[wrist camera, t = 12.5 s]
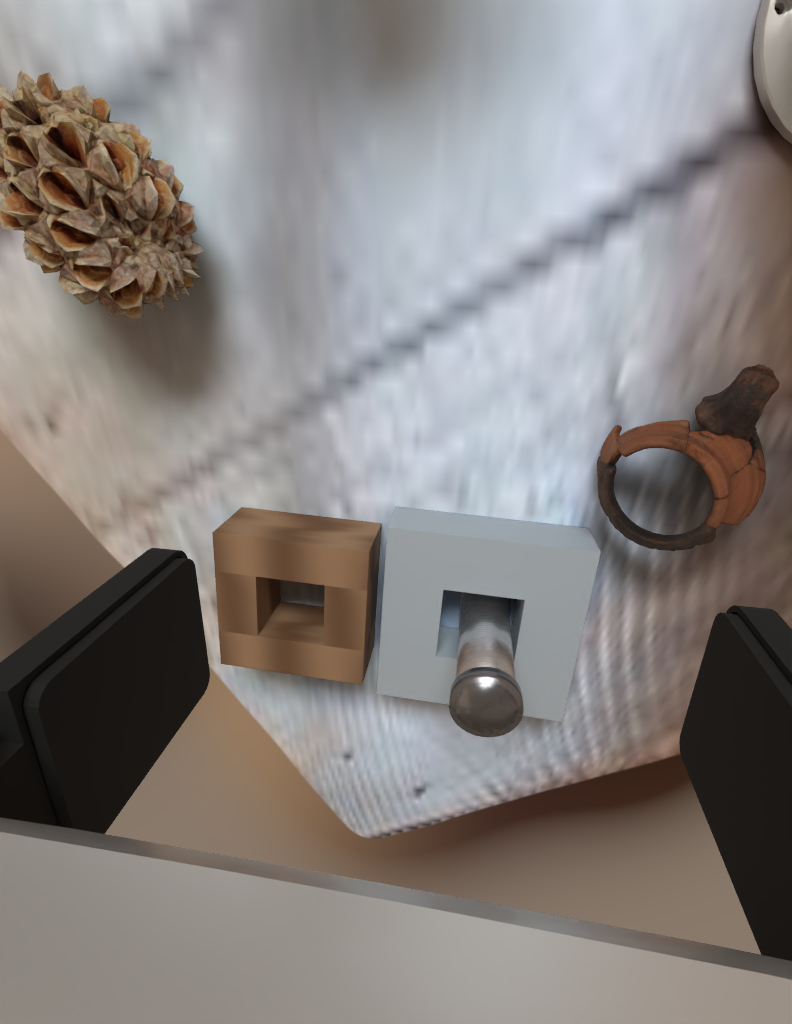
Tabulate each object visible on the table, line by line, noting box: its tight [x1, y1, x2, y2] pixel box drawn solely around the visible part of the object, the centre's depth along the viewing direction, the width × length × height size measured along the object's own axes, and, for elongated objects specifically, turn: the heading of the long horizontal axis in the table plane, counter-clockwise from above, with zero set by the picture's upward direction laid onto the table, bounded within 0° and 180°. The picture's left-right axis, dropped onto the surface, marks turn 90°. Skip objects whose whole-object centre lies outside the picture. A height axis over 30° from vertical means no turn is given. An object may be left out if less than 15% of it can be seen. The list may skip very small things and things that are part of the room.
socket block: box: [377, 507, 601, 722], centre depth 40 cm, size 14×14×4 cm
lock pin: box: [449, 592, 524, 737], centre depth 36 cm, size 4×4×12 cm
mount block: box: [213, 507, 381, 685], centre depth 41 cm, size 11×11×5 cm
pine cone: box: [0, 71, 204, 320], centre depth 30 cm, size 22×10×10 cm, turn 45°
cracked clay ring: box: [597, 365, 779, 551], centre depth 34 cm, size 12×10×8 cm
